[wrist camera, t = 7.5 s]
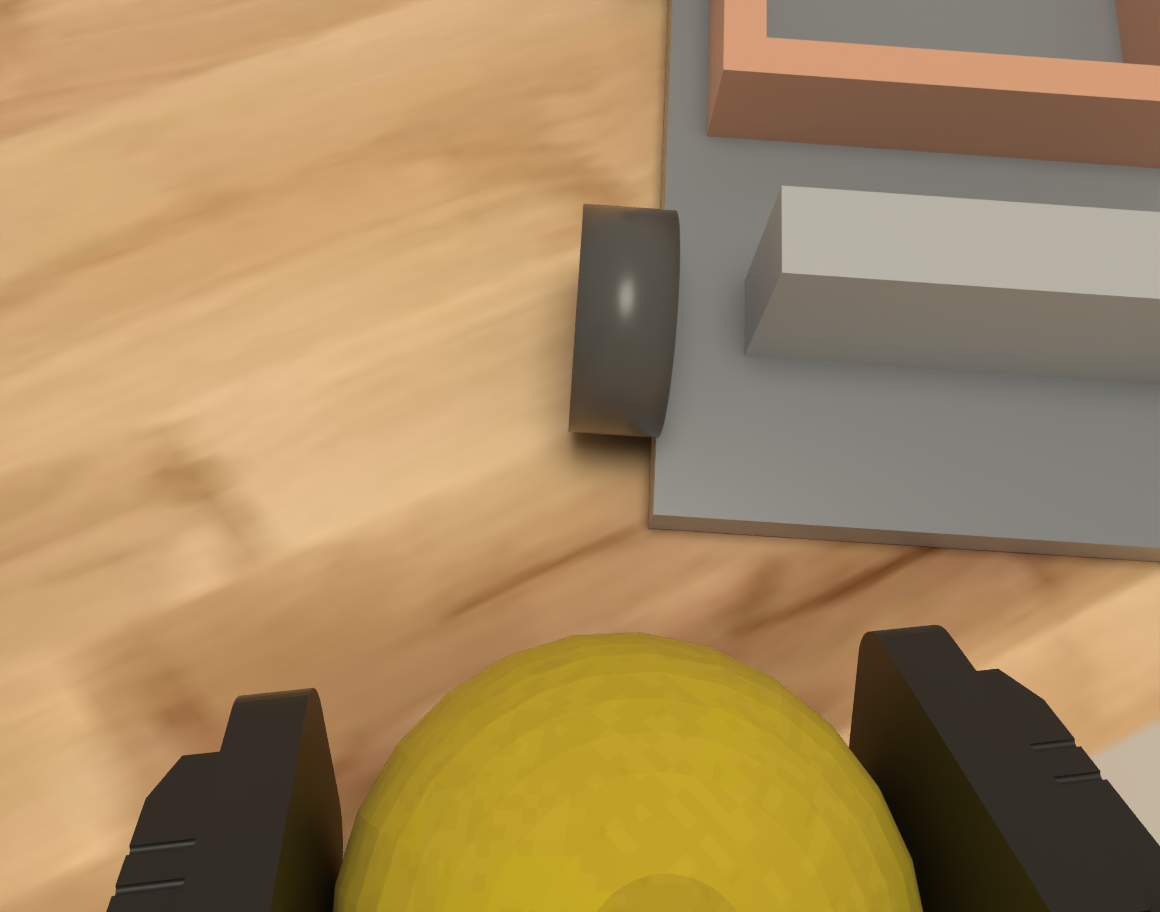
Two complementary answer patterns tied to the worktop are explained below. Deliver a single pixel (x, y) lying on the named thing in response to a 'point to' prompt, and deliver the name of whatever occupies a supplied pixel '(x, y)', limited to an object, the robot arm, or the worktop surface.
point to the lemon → (624, 795)
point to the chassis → (893, 277)
